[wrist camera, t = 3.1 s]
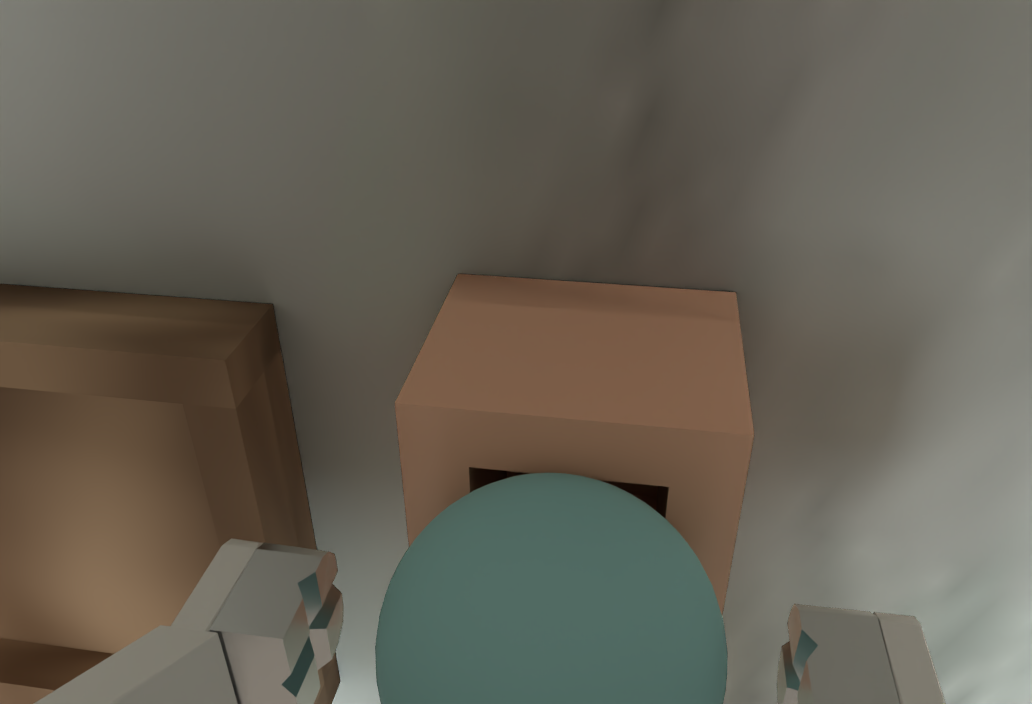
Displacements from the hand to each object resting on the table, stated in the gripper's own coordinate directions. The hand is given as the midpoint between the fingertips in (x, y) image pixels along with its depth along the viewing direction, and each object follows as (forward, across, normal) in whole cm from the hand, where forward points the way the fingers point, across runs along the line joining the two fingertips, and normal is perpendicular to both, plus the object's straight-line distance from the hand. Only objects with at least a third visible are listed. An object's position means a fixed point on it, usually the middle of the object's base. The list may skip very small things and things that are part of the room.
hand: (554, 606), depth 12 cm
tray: (+5, +13, +4) cm, 14 cm away
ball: (+2, 0, 0) cm, 2 cm away
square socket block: (+5, 0, 0) cm, 5 cm away
